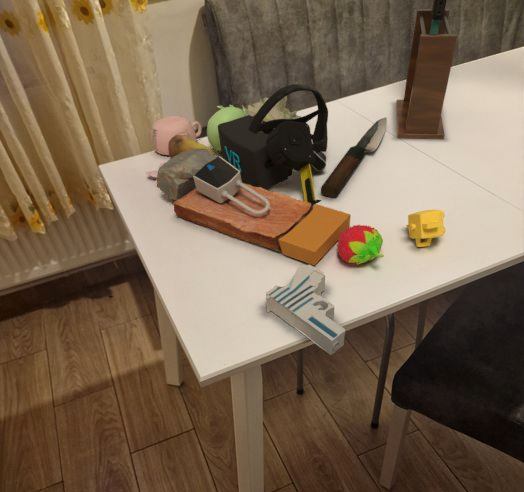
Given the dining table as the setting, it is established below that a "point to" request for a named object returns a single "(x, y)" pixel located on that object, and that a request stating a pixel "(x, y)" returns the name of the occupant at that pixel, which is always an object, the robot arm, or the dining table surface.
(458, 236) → the dining table surface
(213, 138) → the green curved piece
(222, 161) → the padlock
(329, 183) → the kitchen knife
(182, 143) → the fruit
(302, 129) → the tape measure
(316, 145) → the virtual reality headset
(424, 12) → the wooden rack
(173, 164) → the stone
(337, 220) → the wooden plank
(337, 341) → the toy gun
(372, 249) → the strawberry
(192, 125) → the mug
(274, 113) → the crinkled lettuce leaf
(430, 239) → the yellow studded block
